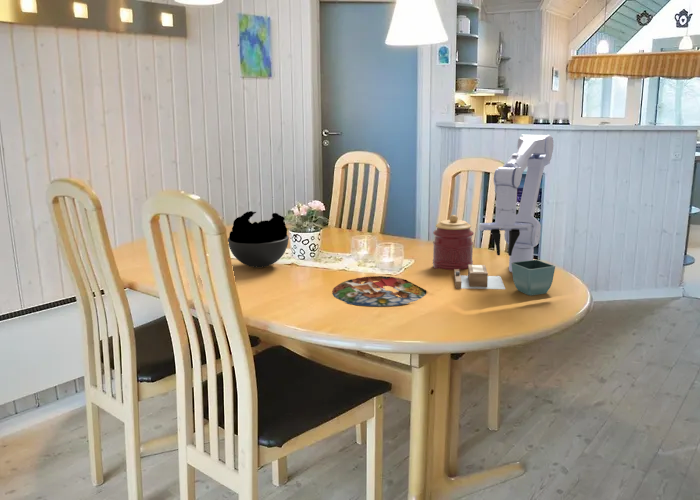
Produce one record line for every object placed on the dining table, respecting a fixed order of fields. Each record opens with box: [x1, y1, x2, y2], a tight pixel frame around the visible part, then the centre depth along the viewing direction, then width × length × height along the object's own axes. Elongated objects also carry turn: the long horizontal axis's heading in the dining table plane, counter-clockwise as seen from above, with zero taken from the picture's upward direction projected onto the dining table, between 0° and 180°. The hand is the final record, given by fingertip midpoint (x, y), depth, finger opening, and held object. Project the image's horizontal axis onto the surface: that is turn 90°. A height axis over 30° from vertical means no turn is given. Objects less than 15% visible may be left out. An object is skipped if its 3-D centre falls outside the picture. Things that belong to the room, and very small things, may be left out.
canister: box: [432, 214, 475, 271], centre depth 212 cm, size 13×13×18 cm
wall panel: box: [453, 269, 506, 290], centre depth 194 cm, size 14×14×4 cm
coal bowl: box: [227, 210, 290, 268], centre depth 217 cm, size 20×20×19 cm
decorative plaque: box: [331, 275, 428, 307], centre depth 190 cm, size 30×3×30 cm
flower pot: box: [511, 259, 556, 296], centre depth 183 cm, size 9×9×9 cm
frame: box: [467, 264, 489, 287], centre depth 193 cm, size 10×5×4 cm, turn 173°
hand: (504, 254), depth 191 cm, fingers open, 3 cm apart
